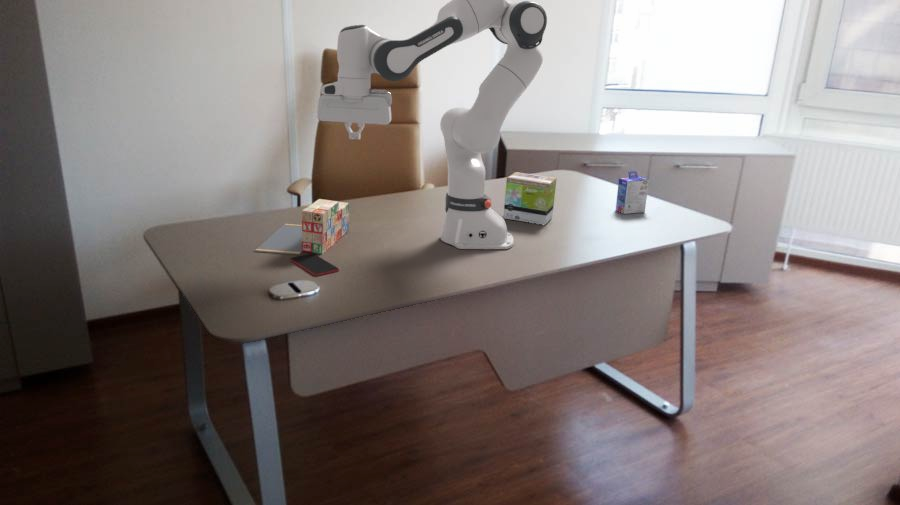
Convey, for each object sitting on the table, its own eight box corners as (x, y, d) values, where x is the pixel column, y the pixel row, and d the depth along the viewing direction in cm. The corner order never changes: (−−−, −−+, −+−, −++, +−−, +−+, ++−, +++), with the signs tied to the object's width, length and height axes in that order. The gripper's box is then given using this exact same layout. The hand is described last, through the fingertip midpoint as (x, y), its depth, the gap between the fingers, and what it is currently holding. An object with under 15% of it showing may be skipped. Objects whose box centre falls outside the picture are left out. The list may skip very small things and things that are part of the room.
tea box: (502, 219, 220) (505, 177, 215) (511, 212, 229) (514, 171, 224) (545, 226, 215) (550, 182, 210) (553, 218, 224) (557, 176, 219)
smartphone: (313, 252, 182) (340, 269, 171) (313, 255, 182) (340, 272, 172) (288, 257, 178) (315, 274, 167) (288, 261, 178) (315, 278, 167)
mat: (325, 227, 205) (325, 226, 204) (299, 255, 181) (299, 253, 181) (285, 224, 206) (284, 223, 206) (254, 251, 182) (254, 250, 182)
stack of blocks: (329, 228, 203) (330, 190, 199) (348, 231, 202) (350, 193, 198) (301, 251, 183) (301, 209, 179) (322, 254, 182) (323, 212, 178)
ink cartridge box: (635, 208, 240) (641, 169, 235) (645, 212, 235) (651, 173, 230) (614, 210, 236) (619, 171, 231) (623, 214, 232) (629, 174, 227)
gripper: (394, 88, 178) (393, 139, 183) (321, 85, 180) (322, 134, 185) (389, 91, 172) (389, 143, 177) (314, 87, 174) (316, 138, 179)
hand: (354, 138), depth 181 cm, fingers closed
